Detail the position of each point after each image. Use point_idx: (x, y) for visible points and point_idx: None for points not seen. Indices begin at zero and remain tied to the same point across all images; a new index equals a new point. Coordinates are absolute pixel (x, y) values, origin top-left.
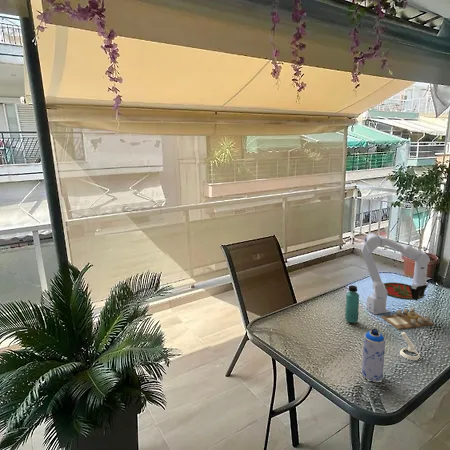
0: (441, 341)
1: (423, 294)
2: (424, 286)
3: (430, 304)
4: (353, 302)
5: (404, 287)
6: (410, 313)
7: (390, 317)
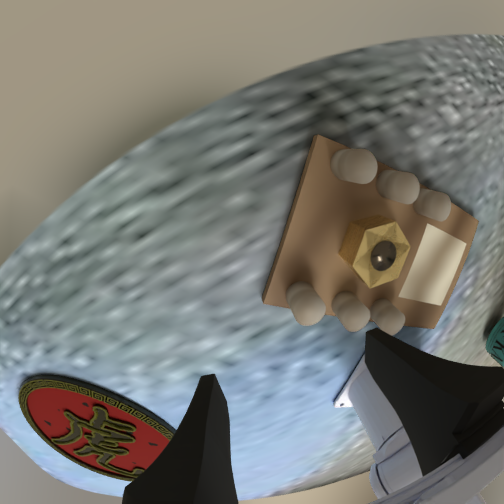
0: (427, 51)
1: (198, 388)
2: (211, 491)
3: (58, 315)
4: None
5: (65, 440)
6: (379, 273)
7: (424, 306)
